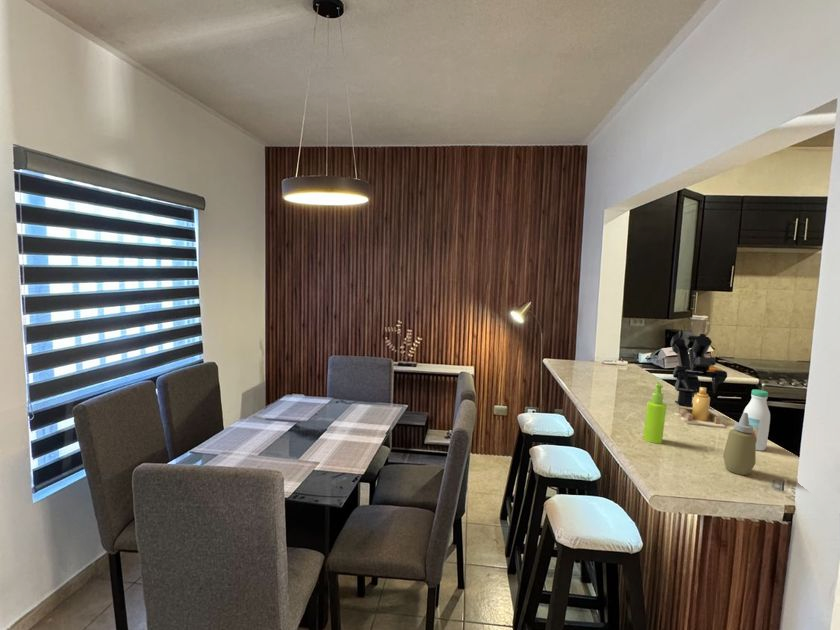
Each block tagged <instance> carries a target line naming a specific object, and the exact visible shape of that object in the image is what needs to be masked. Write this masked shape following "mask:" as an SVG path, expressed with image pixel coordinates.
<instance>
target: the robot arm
mask: <svg viewBox="0 0 840 630" xmlns="http://www.w3.org/2000/svg"><path fill="white" fill-rule="evenodd" d="M711 344H712V339H710V337H708V336H707V335H706V333H699V335H696V334H694V332H693V331H691V330H688V329H687V330H686V329H681V330H679V331H678V333H676V334H674V335H673V336H672V338H671V340H670V348H671V349H672V351H673V352H674V353H675V354H676V355H677V360H678V361H677V362H678V365H676V366H675V367H674V369H673V370H672V371H673V372H672V377H673V378H674V379H676V382H675V384H674V389H675V391H676V392H678V395H677V400H674V403H676V404H677V405H678V404H679V405H678V406H681V405H682V406H683V407H684V406H685V407H692V408H693V400H694V394H697V392H699V389H700V387H701V384H702V383H701V381H700V379H699V377H700V378H709V379H711V389H712V392H713V393H712V394H714V395H715V394H716V392H717V388H718V386H719V385H721V384H723V383H724V382H725V381H726V379H727V377H728V373H727V371H726V370H721V369H720V370H719V369H714V371H713V372H708V371H709V370H710V367H711V366H713V367H714V366H715V365H717V363H716V360H717V359H716V357H715V356H710V357H706V354H707V353H708V351H709V349H710V346H711Z"/></svg>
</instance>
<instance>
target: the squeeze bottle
mask: <svg viewBox="0 0 840 630" xmlns="http://www.w3.org/2000/svg"><path fill="white" fill-rule="evenodd" d="M752 432H753V426H751V425H749V419H748V413H744V412H742V414H741V417H740V418H739V422H734V424H733V428H732V429H730V430H729V432H728V435H727V439H726V443H725V446H724V450H723V453H722V457H723V461H724V462H723V463H724V466H725V469H726V470H727V471H728V472H730V473H731V472H732V473H734V474H735V475H736V474H737V475H741V476H742V475H743V476H746V475H749V474H750V473H751V472H752V471H753V469H754V467H755V465H756V453H757V450H756V436H755V435H754V434H753V433H752Z"/></svg>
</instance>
